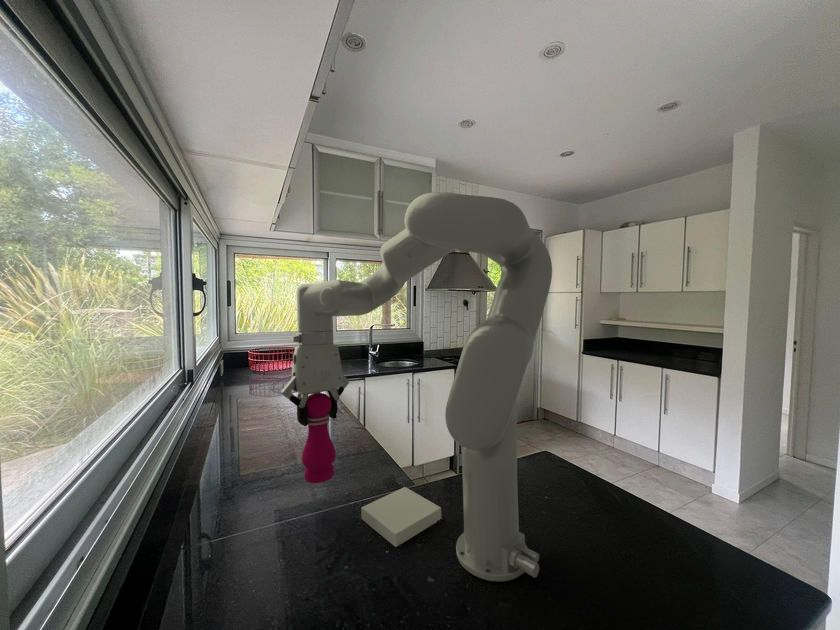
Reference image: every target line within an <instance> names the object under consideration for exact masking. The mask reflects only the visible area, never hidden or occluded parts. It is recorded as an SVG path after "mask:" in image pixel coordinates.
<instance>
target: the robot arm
mask: <svg viewBox="0 0 840 630" xmlns="http://www.w3.org/2000/svg"><path fill="white" fill-rule="evenodd" d="M404 227H405V228H404V229H402V230H401V231H399V233H397V234H396V235H394V236H393V237H391V238H389V240H387V241H386V242H384V243H383V244H381V245H382V246H381V247H380V249H379V250H380V251H379V252H380V253H379V254H380V259H381V261H382V262H381V264H380V266H379V267H378V268H377V270H376V271H374V272H372V274H370V275H369V276H367V277H365V278H364V279H363V280H361V281H360V282H358V281H357V282H356V281H351V280H350V281H349V280H341V279H331V280H326V281H323V282H319V283H318V282H317V283H315V282H314V283H311V282H310V283H302V284H300V285H298V287H297V288H296V313H297V314H296V315H297V316H296V317H297V318H296V321H297V332H296V334H295V335H291V337H290V339H291V342H292V343H296V345H297V346H295V348H294V351H293V357H292V367H291V379H290V380H289V381H288V382H287V383H286V385H284V387H283V388H282V390H281V391H280V395H282V396H283V397H284V398H286V399H287V400H289V401H290V402H291V403H292V404H294V405H295V406H296V419H297V422H298V423H299V424H300V425H302V426H304V427H307V426H308V408H307V407H305V404H306V401H307V398H308V396H309V395H311V394H314V393H319V392H320V393H324V392H327V395H328V396H329V398H330V399H331V409H330V411H329V412H328V414H329V415H330V416H329V418H331V419H333V420H335V419H337V414H338V401H339V399H340V397H341V395H342V394H343V392H344V391H345V389H346V388H347V386H349V384H350V380H349V379H348V378H347V377H346V376H345V375H344V374H343V371H342V361H341V356H340V351H339V348H338V344H336V343H334V320H333V317H347V316H349V317H351V316H353V317H354V316H356V317H357V316H358V317H359V316H364V315H367V314H369V313H371V312H373V311H375V310H376V309H378V308H379V307H381V306H382V305H384V304H385V303H388V302H389V301H390V300H391V299H393V298H394V297H395V296H396V295H397V294H398V293H399V292H400V290H402V289H403V287H404V286H405V284H406V283H407V282H408V281H409V280H410V279H412V278H414V277H415V276H416V275H418V274H419V273H421V272H423V271H424V270H426V269H427V268H429V267H430V266H432V265H434V263H436V262H439V261H440V260H441V259H443V258H444V257H446V256H448V255H449V254H450V253H452V252H454V251H455V250H458V251H465V252H470V253H474V254H475V253H476V254H481V255H484V256H486V257H487V258H488V259H490V260H492V261H493V262H495V263H497V264H498V265H499V267H500V271H501V272H500V273H501V274H500V278H499V281H498V283H497V286H496V287H495V288H496V289H495V291H494V293H493V298H492V302H491V305H490V308H489V312H488V314H487V318H486V320H485V321H483V322H481V323H480V324H478V325H477V326H475V327H474V328H473V330H472V331H471V332H470V333H469V335H468V336H467V339H466V340H465V344H464V345H463V348H462V351H461V355H460V357H459V361H458V364H457V368H456V370H455V371H456V372H455V375H454V378H453V381H452V384H451V389H450V391H449V395H448V398H447V401H446V402H447V403H446V404H445V405H446V406H445V415H444V416H445V424H446V428H447V430H448V433H449V434H450V436H451V438H452V439H453V440H454V442H456V444H458V445H459V446H461V463H462V465H461V472H462V475H461V476H462V499H463V500H462V501H463V503H462V504H463V505H462V506H463V532H462V533H461V534H460V536H459V537H458V539H457V541H456V543H455V551H456V552H455V554H456V557H457V559H458V562H459V564H460V565H461V566H462V567H463V568H464V569H465V570H466V571H467V572H468V573H470V574H472V575H473V576H475V577H477V578H479V579H482V580H486V581H488V582H489V581H490V582H508V581H511V580H514V579H516V578H519V577H520V576H522V575H523V574H524V573H526V574H527V575H530V576H531V577H533V578H537V577H538V575H539V572H540V564H539V563H538V562H539V560H540V554H539V553H538V552H536V551H534V550H532V549H530V548H528V546H527V545H526V537H525V536H526V535H525V534H524V533H523V532H520V525H519V522H520V521H519V499H518V496H519V495H518V494H519V493H518V492H519V491H518V459H517V457H518V454H517V451H518V450H517V449H518V448H517V438H518V437H517V433H518V431H517V429H518V425H517V424H518V405H517V397H518V394H519V391H520V389H521V385H522V382H523V379H524V376H525V373H526V371H527V367H528V364H529V363H530V361H531V358H532V356H533V353H534V346H535V340H536V337H537V332H538V330H539V327H540V324H541V320H542V317H543V314H544V309H545V306H546V303H547V300H548V299H547V298H548V296H549V292H550V288H551V283H552V279H553V278H552V277H553V265H552V259H551V256H550V252H549V250H548V248H547V246H546V244H545V243H544V242H543V240H542V239H541V238H540V236H539V235H537V233H535V231H534V230H533V229H532V228H531V227H530V225H529V223H528V220H527V218H526V215H525V214H524V212H523V210H522V209H521V208H520V207H519V206H518V205H517V204H515V203H514V202H512V201H509V200H507V199H505V198H499V197H492V196H485V195H484V196H482V195H471V194H463V193H452V192H451V193H450V192H440V191H437V192H436V191H434V192H426V193H423V194H421V195H419V196H417V197H415V199H413V201H411V202H410V203H409V205H408V206H407V208H406V211H405V214H404ZM292 391H294V392H297V394H296V395H295V394H294V393H292Z"/></svg>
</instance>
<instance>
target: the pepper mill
mask: <svg viewBox="0 0 840 630" xmlns="http://www.w3.org/2000/svg"><path fill="white" fill-rule="evenodd" d="M305 407H307V408H308V425H307V426H308V429H307V430H308V431H307V434H308V435H307V439H306V442H305V444H304V447H303V450H302V454H301V455H302V456H301V463H302V466H304V467H305V470H304V480H305V482H307V483H309V484H320V483H324V482H327V481H329V480H331V479H332V478H333V477H334V475H335V466H334V464H333V463H334V462H335V460H336V457H337V454H336V448H335V445H334V443H333V441H332V439H331V436H330V432H329V427H328V426H329V425H328V424H329V422H330V417H329V416H330V415H329V414H328V412H329V411H330V409H331V399H330V398H329V395H328V394H326V393H324V392H319V393H314V394H309V395H308V398H307V401H306V404H305Z"/></svg>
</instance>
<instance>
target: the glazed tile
mask: <svg viewBox="0 0 840 630" xmlns="http://www.w3.org/2000/svg"><path fill="white" fill-rule="evenodd" d="M360 510H361V511H360V513H361V517H360V518H361V520H362V521H364V522H365V523H366V524H367V525H368V526H369V527H371V528H372V529H373V530H375V532H376V533H378V534H379V535H381V536H382V537H383V539H385V540H387V542H389V543H390V544H391V545H392V546H393V547H395V548H397V547H399V546H400V545H401V544H404V543H405V542H407V541H408V540H410V539H412V538H414V537H415V536H417V535H418V534H420V533H422V532H423V531H424V530H426V529H428V528H430V527H431V526H433V525H435V524H436V523H438V522H439V521H441V520H442V507H441V506H439V505H438V504H436V503H434V502H432V501H430V500H429V499H427V498H424V496H421V495H420V494H419V493H417V492H414V491H413V490H411V489H409V488H408V487H406V486H403V487H402V488H400V489H397V490H395V491H393V492H391V493H389V494H387V495H385V496H383V497H380V498H379V499H376V500H374V501H372V502H369V503H368V504H365V505H364V506H362V507H360ZM440 519H441V520H440ZM438 520H439V521H438ZM437 521H438V522H437Z"/></svg>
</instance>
